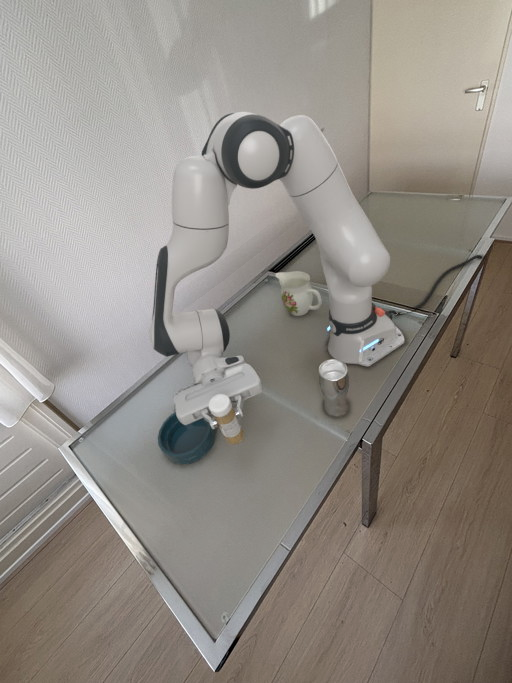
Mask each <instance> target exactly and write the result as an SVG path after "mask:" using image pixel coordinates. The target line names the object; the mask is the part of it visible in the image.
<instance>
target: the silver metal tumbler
mask: <svg viewBox="0 0 512 683" xmlns="http://www.w3.org/2000/svg"><path fill="white" fill-rule="evenodd" d="M348 370H349V369H348V366H347V363H343V362H342V361H340V360H336V359H335V358H333V359H328V360H325V361H323V362H322V363H321V364H320V365H319V367H318V383H319V388H320V391H321V393H322V395H323V398H324V404H323V405H324V410H325V412H326V414H327V415H329V416H331V417H335V418H336V417H337V418H338V417H342V416H344V415H346V414H347V413H348V410H349V403H348V400H347V396H348V392H349V387H350V376H349V371H348Z"/></svg>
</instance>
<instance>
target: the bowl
mask: <svg viewBox="0 0 512 683" xmlns="http://www.w3.org/2000/svg"><path fill="white" fill-rule="evenodd" d="M216 435H217V429H216V428H215V429H212V427H211V425H210V423H209V422H207V421H206V420H205V419H204V418H201V419H199V420H197V421H194V422H192V423H190V424H187V425H184V424H182V423H181V422H180V421H179V420H178V418H177V416H176V411H174V412H173V413H172V414H170V415H169V416H168V417H167V418H166V419H165V420H164V421H163V422H162V424H161V426H160V429H159V430H158V434H157V444H158V447H159V449H160V451H161V452H162V453H163V455H164V456H165V457H166V458H167V459H168V460H169V461H170V462H172V463H174V464H176V465H181V466H183V465H191V464H193V463H196V462H198V461H200V460H201V459H203V458H204V457H205V456H206V455H207V454H208V453H209V451H211V449H212V448H213V445H214V443H215V441H216Z"/></svg>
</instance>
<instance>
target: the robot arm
mask: <svg viewBox="0 0 512 683" xmlns="http://www.w3.org/2000/svg"><path fill="white" fill-rule="evenodd" d="M172 175H173V176H172V186H171V217H172V220H171V221H172V231H171V235H170V238H169V240H168V242H167V243H166V244H165V245H164V246H162V247H161V248H160V249H159V252H158V255H157V258H156V259H157V260H156V267H155V278H154V290H153V291H154V293H153V306H152V317H151V323H150V327H149V340H150V343H151V346H152V348H153V350H154V351H155V352H157V353H158V354H160V355H161V356H164V357H167V358H169V357H172V356H177V355H180V354H182V353H187V359H188V362H189V365H190V367H191V372H192V373H191V374H192V376H193V381H194V383H193V384H191V385H188V386H187V387H185V388H182V389H179V390H178V391H177V393H176V394H174V396H173V397H172V399H173V400H172V401H173V404H174V406H175V412H176V416H177V418H178V420H179V421H180V422H181V423H182V424H184V425H187V424H190V423H192V422H194V421H197V420H199V419H201V418H204V419H205V420H206V421H207V422H209V423H210V425H211V427H212V429H215V430H216V429H217V428H219V425H218V423H217V421H216V419H215V417H214V416H213V417H212V416H211V415H213V414H212V413H211V411H210V409H209V401H210V400H211V398H212V397H214V396H215V395H218V394H225V395H227V396H228V397H229V398H230V400H231V403H232V406H234V405H236V407H233V409H234V411H235V415H236V417H237V419H238V420H239V419H240V418H242V417H244V414H243V408H244V404H245V402H244V401H245V400H248V399H250V398H252V397H254V396H257V395H260V394H262V393H263V390H264V386H263V383H262V380H261V378H260V376H259V375H258V373H257V372H256V370H255V369H254V368H253V367H252V366H251V365H250V364H249V363H247V362H246V360H245V358H244V356H243V355H234V356H227V357H226V356H225V357H224V354H223V353H224V352H226V349H227V348H228V346H229V344H230V337H231V336H230V335H231V334H230V328H229V324H228V322H227V320H226V317H225V315H223V313H222V312H221V311H220V310H218V309H216V308H206V309H197V310H192V311H183V312H182V311H181V312H173V310H174V300H175V292H176V291H175V290H176V287H177V285H178V284H179V283H180V282H181V281H182V280H184V278H186V277H188V276H189V275H191V274H193V273H196V272H198V271H200V270H202V269H205V268H208V267H209V266H211V265H212V264H214V263H215V262H217V261H218V260H219V259H220V258H221V257H222V256H223V254H224V253H225V251H226V250H227V248H228V242H229V236H230V235H229V233H230V208H229V206H230V202H231V198H232V195H233V192H234V191H235V190H236V188H237V187H238V186H239V187H242V188H244V189H249V190H254V189H255V190H257V189H261V188H265V187H267V186H268V185H270V184H272V183H273V182H275V181H280V182H281V183H282V185H283V187H284V189H285V190H286V192H287V194H288V196H289V197H290V199H291V201H292V203H293V204H294V206H295V207H296V210H297V211H298V213H299V214H300V216H301V218H302V219H303V221H304V223H305V224H306V226H307V227H308V229H309V230H310V232H311V233H312V234H313V236H314V238H315V241H316V244H317V248H318V253H319V256H320V262H321V266H322V271H323V275H324V278H325V279H324V280H325V281H326V286H327V293H328V300H329V310H328V320H329V322H328V325H329V326H328V327H327V328H326V330H327V332H329V331H330V333H329V334H330V336H329V340H328V342H327V351H328V354H329V355H330V356H331V357H332V358H333V359H335V360H340V361H342V362H343V363H345V364H351V365H353V364H354V365H359V366H363V367H365V368H366V367H367V368H368V367H371V366H372V365H374V364H375V363H378V361H380V360H381V359H383V358H384V357H386V356H387V355H389V354H390V353H392V352H393V351H395V350H397V349H398V348H399V347H401V346H402V345H404V344H405V336H404V334H403V333H402V331H401V329H400V328H399V327H398V326H396V325H395V322H393V315H394V314H397V313H396V312H397V311H395V310H394V309H393V310H392V309H391V310H385V309H382V308H381V307H377V305H376V304H375V303H374V302H373V286H374V285H376V284H377V283H379V282H380V281H381V280H383V279H384V278H385V276H386V275H387V273H388V271H389V269H390V266H391V256H390V254H389V251H388V249H387V248H386V246H385V245H384V243H383V241H382V240H381V239H380V237H379V235H378V233H377V232H376V230H375V228H374V226H373V225H372V222H371V221H370V219H369V218H368V216H367V214H366V213H365V211H364V210H363V208H362V206H361V205H360V203H359V202H358V200H357V199H356V197H355V195H354V194H353V191H352V189H351V187H350V185H349V183H348V181H347V178H346V176H345V174H344V172H343V170H342V168H341V165H340V162H339V160H338V159H337V156H336V154H335V152H334V150H333V148H332V147H331V145H330V143H329V141H328V139H327V138H326V137H325V135H324V134H323V132H322V130H321V129H320V128H319V127H318V125H317V124H316V122H315V121H314V120H313V119H312V118H311V117H310V116H307V115H304V114H297V115H293V116H291V117H288V118H287V119H284V121H283V122H281V123H280V124H278V123H277V122H274V121H273V120H272V119H270V118H268V117H266V116H263V115H260V114H256V113H253V112H249V111H237V112H231V113H228V114H225V115H223V116H222V117H221V118H219V120H217V121H216V123H215V124H214V126H213V127H212V129H211V131H210V133H209V135H208V138H207V139H206V142H205V144H204V146H203V148H202V150H201V155H192V156H188V157H185V158H182V160H180V161H179V162H177V164H176V166H175V167H174V170H173V174H172ZM482 258H483V255H482V254H481V255H480V254H477V255H473V256H472V257H470V258H469V259H467V260H464V261H463V262H461V263H459V264H456V265H453V266H451V267H450V268H448V269H447V270H445V271H444V272H443V273H442V274H441V275H440V276H439V277H438V278H437V280H436V281H435V283H434V284H433V286H432V287H431V289H430V291H429V292H428V293H427V295H426V297H425V298H424V300H423V301H422V302H420V303H419V304H417V305H416V306H414V307H413V308H418V309H420V308H422V307H423V306H425V305H426V304H427V302H428V301H429V299H430V297H431V296H432V295H433V293H434V292H435V290H436V288H437V286H438V285H439V283H440V282H441V281H442V279H443V278H444V277H445V276H446V275H448V274H450V272H452V271H454V270H456V269H458V268H460V267H463V266H465V265H468V264H469V263H470V262H473V261H474V260H475V259H476V260H477V259H482ZM396 316H403V314H400V313H398V314H397V315H396Z"/></svg>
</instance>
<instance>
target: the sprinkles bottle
mask: <svg viewBox="0 0 512 683" xmlns="http://www.w3.org/2000/svg"><path fill="white" fill-rule="evenodd" d="M209 409H210V411H211V413H212V414H211V415H212V416H213V417H215V419H216V421H217V423H218V425H219V427H218V428H219V429H220V432H221V433H222V435H223V436H224V439H225V441H226V443H227V444H229V445H231V446H233V445H234V446H235V445H238V444H240V443H242V441H243V440H244V438H245V431H244V429H243V428H242V426H241V423H240V420H239V418H238V419H237V417H236V415H235V411H234V407H233V405H232V403H231V400H230V398H229V397H228V396H227V395H225V394H218V395H215V396H214V397H212V398H211V400H210V401H209Z"/></svg>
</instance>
